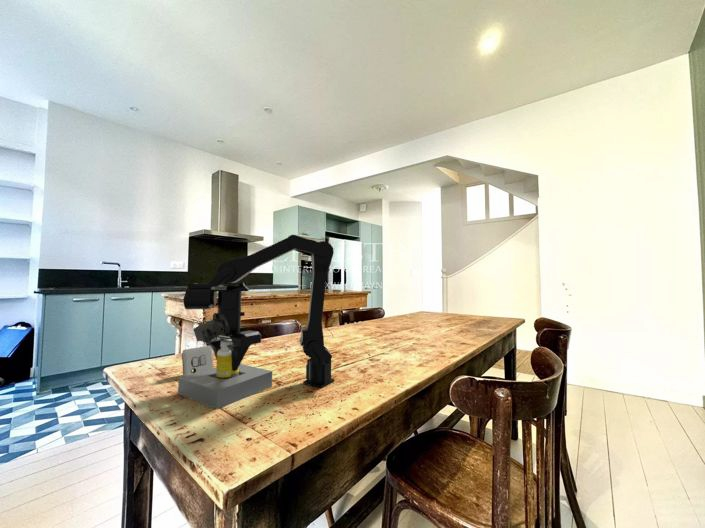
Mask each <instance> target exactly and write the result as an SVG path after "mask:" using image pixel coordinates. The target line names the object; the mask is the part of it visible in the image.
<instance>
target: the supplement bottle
mask: <svg viewBox="0 0 705 528" xmlns="http://www.w3.org/2000/svg"><path fill="white" fill-rule="evenodd" d="M232 344H233V343H232V340H231V339H227V340H222V341H221V345H220V347H221V349H220V350H218V352H217V360H216V367H215V368H216V378H217V379H220V380H227V379H230V378H233V377H236V376H239V367H238V369H237V370H236V371H233V369H232V355H231V350H230V349H229V348H228V347H227V345H232Z"/></svg>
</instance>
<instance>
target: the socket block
mask: <svg viewBox="0 0 705 528" xmlns="http://www.w3.org/2000/svg"><path fill="white" fill-rule="evenodd" d="M177 385H178V386H177V395H179V396H182V397H184V398H186V399H190V400H193V401H194V402H197V403H200V404H202V405H204V406H207V407H211V408H212V409H216V410H219V409H221V408H224V407H226V406H229V405H231V404H234V403H235V402H238V401H241V400H243V399H246V398H248V397H250V396H252V395H255V394H258V393H259V392H262V391H264V390H267V389H269V388H271V387H273V370H269V369H264V368H260V367H256V366H251V365H247V364H242V363H240V365H239V376H236V377H233V378H230V379H227V380H220V379H217V378H216V367H214V368H212V369H209V370H205V371H201V372H198V373H194V374H191V375H187V376H181V377H178V382H177Z"/></svg>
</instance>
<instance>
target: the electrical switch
mask: <svg viewBox="0 0 705 528" xmlns="http://www.w3.org/2000/svg"><path fill="white" fill-rule="evenodd" d="M213 355H214V353H213V348H212V347H211V346H210V345H204V346H198V347H194V348H193V347H192V348H191V347H190V348H188V349H187V348H186V349H183V350H182V353H181V360H182V361H181V362H182V374H183V375H182V377H184V376H187V375H191V374H194V373H198V372H201V371H205V370H209V369H212V368H215V367H214V357H213Z"/></svg>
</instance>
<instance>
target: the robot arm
mask: <svg viewBox="0 0 705 528" xmlns="http://www.w3.org/2000/svg"><path fill="white" fill-rule="evenodd" d="M293 251H295V252H297V253H300V254H302V255H306V256H308V257H310V259H311V268H312V269H311V270H312V278H311V289H310V297H309V298H310V299H309V307H308V318H307V323H306V325H305V327H303V326H301V327H300V338H299V340H298V342H299V344H300V346H301V348H302V351H303V353H304V354H305V355H306V356H307V357H308V358H307V359H306V362H307V363H306V364H305V380H303V381H302V382H303V383H302V384H304V385H309V386H312V387H317V388H324V387H325V386H327V385H329V384H331V383H333V382H335V378H332V358H333V355H332V354H331V352H330V351H329V349H328V348H327V347H326V346H325V342H324V341H325V340H324V330H323V323H322V322H323V314H324V305H325V296H326V294H325V293H326V285H327V276H328V275H327V274H328V272H329V269H330V266H331V263H332V260H333V257H334V247H333V246H332V244H331V243H330V242H328V241H325V240H323V241H322V240H321V241H317V240H313V239H309V238H306V237H301V236H299V235H297V234H290V235H288V237H286V238H284V239H282V240H280V241H277V242H275V243H273V244H271V245H269V246H266V247H265V248H262V249H260V250H258V251H255V252H254V253H252V254H249V255H245V256H241V257H236V258H234V259H233V258H231V259H229V260H225V261H223V262H221V263H220V264H219V265H218V267H217V269H216V274H215V275H214V276H213V278H212V279H211V280H210V281H209V283H196V282H188V283H187V288H186V289H185V293H184V295H183V306H184V309H185V310H211V309H212V307H213V306H216V304H217V312H214V313H213V314H212V319H210V320H209V321H206V322H203V323H202V324H199V325H198V326H196V327H193V332H194V336H195V339H196V341H197V342H203V343H205V344H207V346H211V347H212V352H213V355H214V356H215V359H216V361H217V352H218V350H220V349H221V347H220V345H221V341H222V340H227V339H231V340H232V343H233V344H232V345H227V347H228V348H229V349H230V350H231V355H232V369H233V371H236V370H237V369H238V367H239V365H240V364H242V362H243V359H244V357H245V355H246V353H247V352H248V350H249V348H250V346H251V345H256V344H260V343H262V334H261V332H259V331H257V330H246V331H245V327H243V326H241V325H242V324H241V323H242V317H245V315H246V314H245V311H242V292H249V291H250V288H249V287H248V286H246V285H245V282H241V283H240V284H239V285H238V284H235V285H233V284H234V283H238V282H239V281H241V280H243V278H245V277H246V276H248V275H249V274H250V273H252V272H253V271H255V270H256V269H257V268H259V267H261V266H263V265H266V264H268V263H270V262H272V261H274V260H276V259H278V258H280V257H281V256H285V255H286V254H289V253H290V252H293ZM225 285H227V286H226V288H225V289H224V288H222V289H220V288H221V287H224V286H225ZM216 287H217V288H216ZM218 288H219V289H218Z"/></svg>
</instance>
